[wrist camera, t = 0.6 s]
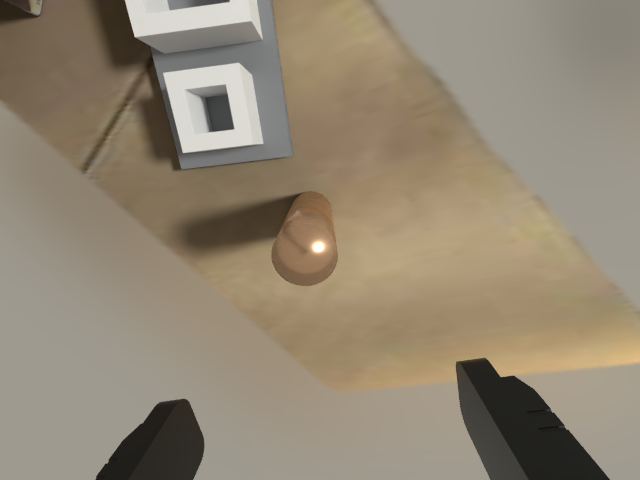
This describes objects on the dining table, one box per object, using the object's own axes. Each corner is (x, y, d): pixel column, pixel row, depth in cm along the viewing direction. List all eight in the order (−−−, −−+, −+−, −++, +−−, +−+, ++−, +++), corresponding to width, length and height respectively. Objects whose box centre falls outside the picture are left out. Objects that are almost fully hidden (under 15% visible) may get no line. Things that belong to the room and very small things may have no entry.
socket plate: (188, 168, 28) (158, 174, 23) (132, -58, 23) (76, -117, 18) (293, 155, 28) (286, 158, 23) (261, -78, 22) (242, -144, 17)
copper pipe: (293, 233, 30) (277, 288, 19) (288, 193, 29) (266, 228, 18) (333, 228, 30) (340, 282, 19) (329, 189, 29) (334, 220, 17)
